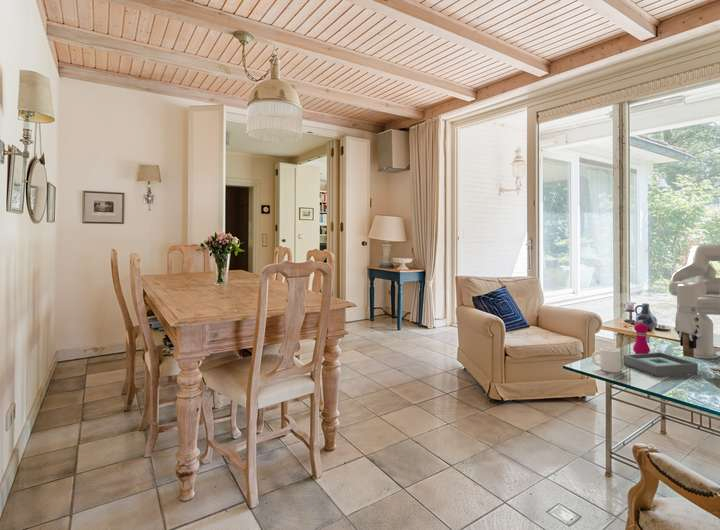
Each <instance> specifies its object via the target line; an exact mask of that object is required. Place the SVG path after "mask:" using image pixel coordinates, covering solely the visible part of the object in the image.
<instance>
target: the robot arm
mask: <svg viewBox="0 0 720 530" xmlns="http://www.w3.org/2000/svg"><path fill="white" fill-rule="evenodd" d="M710 262H720V244H698V245H695V246H694V245H693V247H691V248H690V249H689V254H688V258H687V260H686V265H684V266H683V267H681V268H679V269H678V270H677V271H675V272H674V273H673V274H672V276H671V278H670V281H669V285H668V292H669V294H670V295H672V296H674V297H676V305H677V306H676V308H677V309H676V315H675V324H674V325H675V327H674V332H676V333H677V334H678V337H679V343H680V346H681V347H683V332H685V333H688V334H689V337H690V340H689V348H690V349H693V348H694V357H693V358H696V359H707V360H708V359H709V360H712V359H718V357H719V355H718V354H717V352H719V353H720V347H714V343H715V342H714V322H713V320H712V319H711V318H710V317H709V316H710V315H712V316H720V277H716V276H717V275H716V274H717V270H716V269H715V268H714V267H713V266H712V264H710ZM692 278H693V281H689V280H688V279H692ZM685 280H687V281H685ZM692 335H693V336H692Z"/></svg>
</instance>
